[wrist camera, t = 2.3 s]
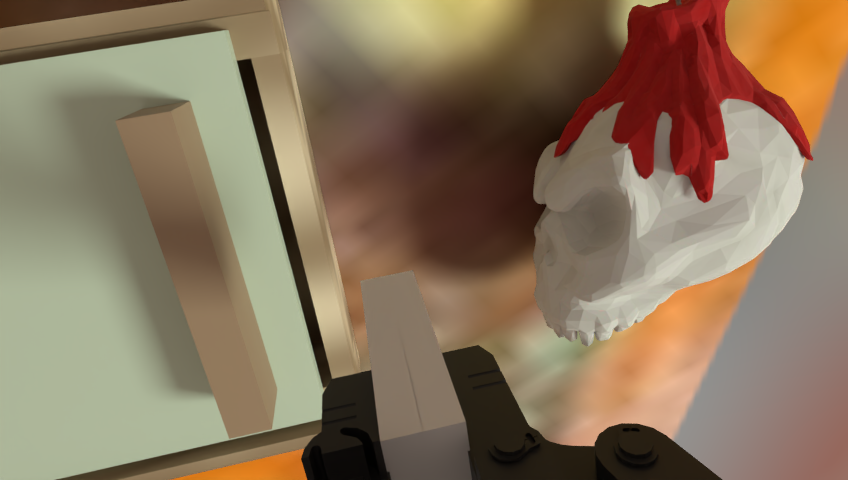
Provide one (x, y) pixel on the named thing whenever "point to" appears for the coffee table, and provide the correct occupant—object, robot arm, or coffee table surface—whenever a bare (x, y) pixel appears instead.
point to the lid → (140, 263)
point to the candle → (662, 175)
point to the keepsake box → (287, 175)
